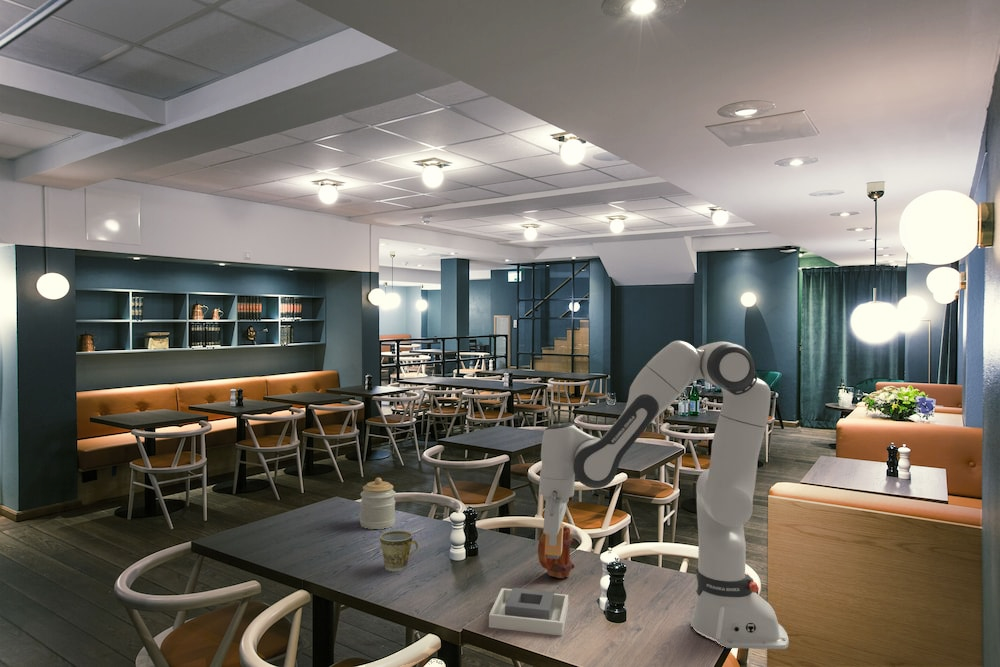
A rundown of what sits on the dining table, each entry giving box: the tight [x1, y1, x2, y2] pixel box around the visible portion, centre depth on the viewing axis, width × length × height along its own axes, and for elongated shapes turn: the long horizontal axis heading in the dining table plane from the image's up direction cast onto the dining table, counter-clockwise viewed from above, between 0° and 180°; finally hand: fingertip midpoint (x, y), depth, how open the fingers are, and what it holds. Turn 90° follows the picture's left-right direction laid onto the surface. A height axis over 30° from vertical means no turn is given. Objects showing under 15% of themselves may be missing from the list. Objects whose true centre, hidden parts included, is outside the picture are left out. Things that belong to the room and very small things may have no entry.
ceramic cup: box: [379, 529, 419, 573], centre depth 189 cm, size 13×10×10 cm
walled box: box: [488, 587, 569, 637], centre depth 157 cm, size 18×16×4 cm
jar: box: [359, 477, 396, 530], centre depth 231 cm, size 13×13×18 cm
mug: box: [537, 525, 575, 579], centre depth 184 cm, size 15×8×15 cm, turn 141°
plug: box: [545, 522, 565, 559], centre depth 157 cm, size 4×4×8 cm
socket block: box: [505, 587, 555, 620], centre depth 157 cm, size 11×11×4 cm
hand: (554, 541), depth 157 cm, fingers closed on plug, 4 cm apart
